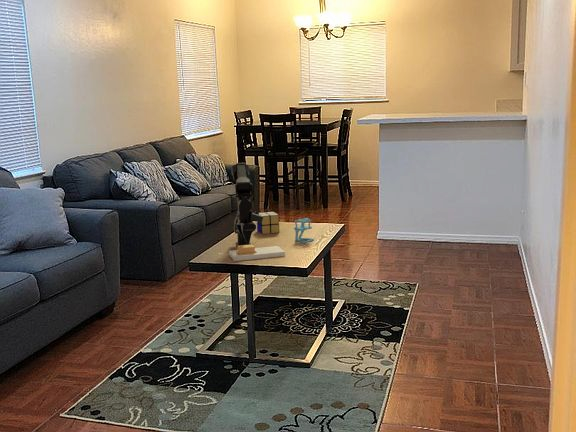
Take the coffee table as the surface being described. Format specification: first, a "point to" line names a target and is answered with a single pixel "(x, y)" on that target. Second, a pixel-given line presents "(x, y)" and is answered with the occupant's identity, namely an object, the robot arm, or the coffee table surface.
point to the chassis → (258, 253)
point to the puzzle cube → (268, 223)
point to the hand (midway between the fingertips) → (245, 241)
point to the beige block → (246, 249)
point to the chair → (302, 230)
